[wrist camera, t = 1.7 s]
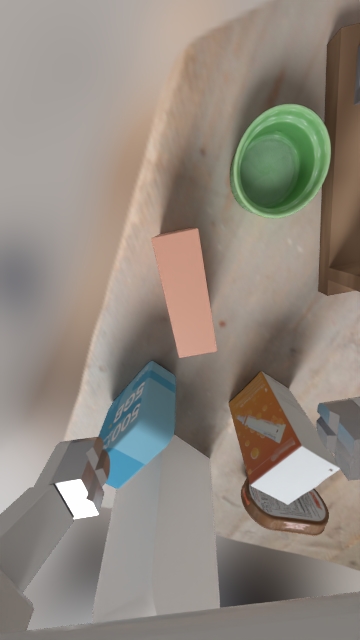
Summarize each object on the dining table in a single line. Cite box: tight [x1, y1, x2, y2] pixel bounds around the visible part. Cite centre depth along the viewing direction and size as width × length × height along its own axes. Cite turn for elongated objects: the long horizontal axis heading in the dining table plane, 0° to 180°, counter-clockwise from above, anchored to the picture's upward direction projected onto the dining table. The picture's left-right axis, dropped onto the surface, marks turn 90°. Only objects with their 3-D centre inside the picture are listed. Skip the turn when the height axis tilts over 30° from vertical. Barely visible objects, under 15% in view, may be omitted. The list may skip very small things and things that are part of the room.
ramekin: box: [230, 104, 331, 218], centre depth 23 cm, size 9×9×4 cm
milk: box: [93, 434, 220, 623], centre depth 31 cm, size 12×12×26 cm
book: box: [151, 227, 217, 358], centre depth 26 cm, size 4×12×9 cm, turn 11°
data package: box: [99, 361, 176, 489], centre depth 31 cm, size 12×4×12 cm, turn 141°
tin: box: [241, 477, 329, 536], centre depth 41 cm, size 15×3×8 cm, turn 79°
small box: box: [229, 371, 340, 505], centre depth 31 cm, size 8×6×13 cm
